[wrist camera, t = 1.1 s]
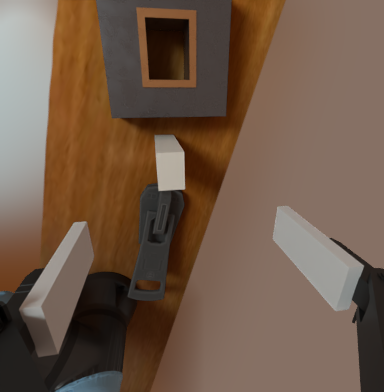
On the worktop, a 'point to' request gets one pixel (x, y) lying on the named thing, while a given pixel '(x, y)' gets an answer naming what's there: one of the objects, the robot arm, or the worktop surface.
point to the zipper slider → (155, 239)
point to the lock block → (193, 57)
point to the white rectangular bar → (169, 163)
